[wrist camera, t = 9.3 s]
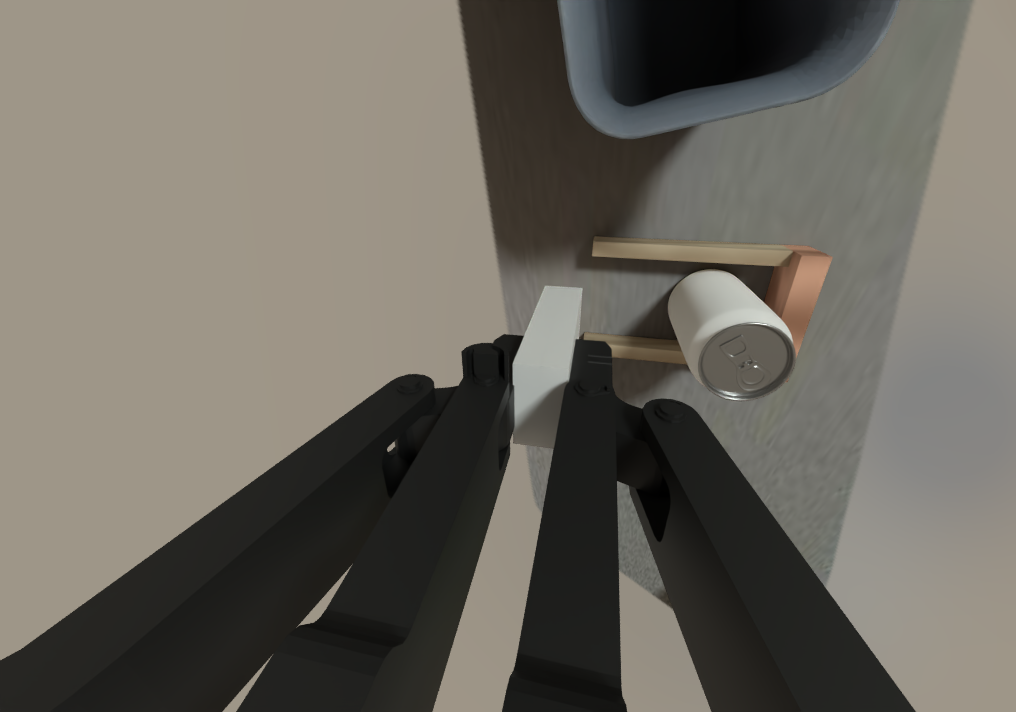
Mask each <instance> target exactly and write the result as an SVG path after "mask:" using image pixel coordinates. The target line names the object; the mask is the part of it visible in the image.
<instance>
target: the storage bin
mask: <svg viewBox="0 0 1016 712" xmlns="http://www.w3.org/2000/svg"><path fill="white" fill-rule="evenodd" d="M899 2H900V0H557V3H558V11H559V18H560V25H561V32H562V40H563V47H564V54H565V62H566V69H567V76H568V83H569V87H570V91H571V95H572V97H573V99H574V102H575V104H576V106H577V108H578V110H579V111H580V113H581V114H582V116H583V117H584V119H585V120H586V121H587V122H588V123H589V124H590V125H591V126H592V127H593V128H595V129H596V130H597V131H599V132H601V133H603V134H605V135H607V136H611V137H614V138H618V139H637V138H643V137H648V136H652V135H656V134H661V133H665V132H669V131H674V130H678V129H683V128H687V127H691V126H696V125H700V124H705V123H709V122H714V121H718V120H723V119H727V118H732V117H736V116H740V115H745V114H749V113H753V112H757V111H761V110H765V109H770V108H774V107H780V106H784V105H787V104H793V103H798V102H801V101H805V100H808V99H811V98H814V97H817V96H819V95H822V94H824V93H826V92H828V91H830V90H832V89H833V88H835V87H837V86H838V85H840V84H841V83H843V82H845V81H846V80H847V79H848V78H850V77H851V76H852V75H853V74H854V73H856V72H857V71H858V70H859V69H860V68H861V67H862V66H863V65H864V64H865V63H866V61H867V60H868V59H869V58H870V57H871V56H872V55H873V53H874V52H875V51H876V49H877V48H878V47H879V45H880V44H881V42H882V40H883V39H884V37H885V36H886V34H887V32H888V29H889V27H890V25H891V23H892V21H893V19H894V17H895V14H896V11H897V8H898V5H899Z"/></svg>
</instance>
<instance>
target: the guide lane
mask: <svg viewBox="0 0 1016 712" xmlns="http://www.w3.org/2000/svg"><path fill="white" fill-rule="evenodd" d="M592 256H598V257H616V258H635V259H653V260H671V261H690V262H708V263H727V264H745V265H763V266H775V267H774V270H773V273H772V277H771V280H770V283H769V287H768V290H767V293H766V297H765V300H764V303H765V304H766V305H767V306H768V307H769V308H770V309H771V310H772V311H773V312H774V313H775V314H776V315H777V316H778V317H779V318H780V319H781V320H782V321H783V322H784V323H785V324H786V326H787V327H788V329H789V331H790V333H791V335H792V339H793V345H794V348H795V352H796V357H797V354H798V351H799V349H800V346H801V343H802V340H803V338H804V335H805V332H806V329H807V327H808V324H809V321H810V318H811V315H812V313H813V310H814V307H815V304H816V302H817V299H818V296H819V293H820V291H821V288H822V285H823V282H824V280H825V277H826V274H827V271H828V268H829V266H830V263H831V260H832V257H831V256H829V255H827V254H825V253H823V252H820V251H818V250H816V249H814V248H812V247H809V246H797V245H775V244H753V243H731V242H709V241H687V240H665V239H643V238H621V237H599V236H594V241H593V251H592ZM584 340H594V341H605V342H606V343H607V344H608V345H609V346H610V347H611V349H612V357H616V358H626V359H637V360H647V361H657V362H667V363H677V364H687V362H686V360H685V357H684V355H683V352H682V350H681V347H680V345H679V342H678V340H667V339H655V338H644V337H633V336H621V335H610V334H599V333H587V332H585V333H584ZM788 379H789V378H788ZM788 379H787V381H786V382H788Z"/></svg>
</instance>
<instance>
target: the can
mask: <svg viewBox="0 0 1016 712" xmlns="http://www.w3.org/2000/svg"><path fill="white" fill-rule="evenodd" d="M668 315H669V318H670V321H671V324H672V327H673V329H674V332H675V334H676V337H677V339H678V342H679V345H680V347H681V350H682V352H683V355H684V357H685V360H686V362H687V364H688V367H689V369H690V371H691V373H692V374H693V376H694V377H695V378H696V379H697V380H698V381H699V382H700V383H701V384H702V385H703V386H705V387H706V388H707V389H708V390H709V391H711V392H712V393H714V394H715V395H717V396H719V397H721V398H724V399H728V400H733V401H748V400H754V399H758V398H761V397H764V396H766V395H769V394H770V393H772V392H774V391H776V390H777V389H778V388H780V387H781V386H782V385H783V384H784V383H785V382H786V381H787V379H788V378H789V377H790V375H791V373H792V371H793V369H794V366H795V362H796V352H795V348H794V345H793V339H792V335H791V333H790V331H789V329H788V327H787V326H786V324H785V323H784V322H783V321H782V320H781V319H780V318H779V317H778V316H777V315H776V314H775V313H774V312H773V311H772V310H771V309H770V308H769V307H768V306H767V305H766V304H765V303H764V302H763V301H762V300H761V299H760V298H759V297H758V296H756V295H755V294H754V293H753V292H752V291H751V290H750V289H749V288H748V287H747V286H746V285H745V284H744V283H742V282H741V281H740V280H739V279H738V278H737V277H735V276H734V275H732V274H731V273H729V272H726V271H723V270H718V269H706V270H701V271H697V272H695V273H692V274H690V275H689V276H687V277H685V278H684V279H683V280H681V281H680V282H679V283H678V284H677V285H676V287H675V288H674V290H673V291H672V293H671V295H670V298H669V301H668Z"/></svg>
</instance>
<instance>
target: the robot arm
mask: <svg viewBox="0 0 1016 712" xmlns="http://www.w3.org/2000/svg"><path fill="white" fill-rule="evenodd" d="M582 289H583V288H575V287H557V286H545V288H544V290H543V292H542V295H541V297H540V300H539V302H538V304H537V307H536V309H535V311H534V314H533V316H532V319H531V321H530V323H529V326H528V328H527V331H526V333H525V335H524V336H519V335H506V334H504V335H502V336H500V337H499V338H497V339H496V340H495V341H494V342H493V343H480V344H474V345H471V346H469V347H466V348H465V349H464V350H463V351H462V365H463V379H462V381H461V382H460V384H459V386H455V387H448V388H436V389H435V388H434V382H433V380H432V379H431V378H429V377H427V376H425V375H419V374H412V375H411V374H408V375H405V376H401V377H398V378H396V379H394V380H392V381H390V382H389V383H388V384H386V385H385V386H384V387H382V388H381V389H380V390H378V391H377V392H375V393H374V394H373V395H371V396H370V397H368V398H367V399H366V400H365V401H363V402H362V403H360V404H359V405H357V406H356V407H355V408H353V409H352V410H351V411H349V412H348V413H347V414H345V415H344V416H342V417H341V418H339V419H338V420H337V421H335V422H334V423H333V424H331V425H330V426H328V427H327V428H326V429H325V430H323V431H322V432H320V433H319V434H317V435H316V436H315V437H313V438H312V439H311V440H309V441H308V442H306V443H305V444H304V445H302V446H301V447H300V448H298V449H297V450H295V451H294V452H293V453H291V454H290V455H288V456H287V457H286V458H284V459H283V460H282V461H280V462H279V463H277V464H276V465H275V466H273V467H272V468H271V469H269V470H268V471H266V472H265V473H264V474H262V475H261V476H259V477H258V478H257V479H255V480H254V481H253V482H251V483H250V484H248V485H247V486H246V487H244V488H243V489H242V490H240V491H239V492H237V493H236V494H235V495H233V496H232V497H230V498H229V499H228V500H226V501H225V502H224V503H222V504H221V505H219V506H218V507H217V508H216V509H214V510H213V511H211V512H210V513H209V514H207V515H206V516H204V517H203V518H202V519H200V520H199V521H197V522H196V523H195V524H193V525H192V526H191V527H189V528H188V529H186V530H185V531H184V532H182V533H181V534H179V535H178V536H177V537H175V538H174V539H173V540H171V541H170V542H168V543H167V544H166V545H165V546H163V547H162V548H160V549H159V550H157V551H156V552H155V553H153V554H152V555H150V556H149V557H148V558H147V559H145V560H144V561H142V562H141V563H140V564H138V565H137V566H135V567H134V568H133V569H131V570H130V571H129V572H127V573H126V574H124V575H123V576H122V577H120V578H119V579H117V580H116V581H115V582H113V583H112V584H110V585H109V586H108V587H106V588H105V589H104V590H102V591H101V592H100V593H98V594H97V595H95V596H94V597H93V598H91V599H90V600H88V601H87V602H86V603H84V604H83V605H82V606H80V607H79V608H77V609H76V610H75V611H73V612H72V613H70V614H69V615H68V616H66V617H65V618H64V619H62V620H61V621H59V622H58V623H57V624H55V625H54V626H53V627H51V628H50V629H48V630H47V631H46V632H45V633H43V634H42V635H40V636H39V637H37V638H36V639H35V640H33V641H32V642H30V643H29V644H28V645H26V646H25V647H24V648H22V649H21V650H19V651H17V652H15V653H13V654H12V655H10V656H8V657H6V658H4V659H2V660H0V712H222V711H223V710H224V709H225V708H226V707H227V706H228V704H229V703H230V702H231V701H232V700H233V699H234V697H236V695H237V694H238V693H239V692H240V691H241V690H242V689H243V687H244V686H245V685H246V684H247V683H248V682H249V680H251V678H252V677H253V676H254V675H255V674H256V673H257V671H258V670H259V669H260V668H261V667H262V666H263V665H264V664H265V663H266V661H267V660H268V659H269V658H270V657H271V656H272V657H271V659H270V660H269V662H268V663H267V665H266V666H265V668H264V669H263V671H262V673H261V674H260V676H259V677H258V679H257V680H256V682H255V684H254V685H253V687H252V688H251V690H250V691H249V693H248V695H247V696H246V697H245V699H244V701H243V702H242V704H241V705H240V707H239V708H238V710H237V711H236V712H432V711H433V708H434V704H435V701H436V698H437V694H438V691H439V688H440V685H441V681H442V678H443V675H444V671H445V668H446V665H447V661H448V658H449V655H450V651H451V648H452V645H453V642H454V638H455V635H456V631H457V628H458V625H459V622H460V618H461V615H462V612H463V609H464V605H465V602H466V599H467V595H468V592H469V589H470V585H471V582H472V579H473V576H474V572H475V569H476V566H477V562H478V559H479V555H480V552H481V549H482V546H483V543H484V539H485V536H486V533H487V529H488V526H489V523H490V519H491V516H492V513H493V509H494V506H495V503H496V499H497V496H498V493H499V490H500V486H501V483H502V480H503V476H504V473H505V470H506V467H507V463H508V460H509V456H510V439H511V436H512V433H513V443H515V444H522V445H530V446H537V447H545V448H552V449H554V450H553V456H552V462H551V467H550V473H549V478H548V484H547V490H546V495H545V501H544V507H543V512H542V518H541V524H540V530H539V535H538V540H537V546H536V552H535V557H534V563H533V568H532V574H531V580H530V586H529V591H528V597H527V603H526V608H525V614H524V619H523V625H522V630H521V636H520V642H519V648H518V653H517V658H516V663H515V667H514V671H513V672H512V674H511V676H510V678H509V683H508V686H507V690H506V695H505V700H504V705H503V709H502V712H627V708H626V704H625V701H624V699H623V697H622V689H621V658H620V657H621V656H620V613H619V611H620V608H619V560H618V513H617V481H619V482H621V483H624V484H626V485H629V490H630V495H631V498H632V500H633V503H634V506H635V508H636V511H637V514H638V516H639V519H640V522H641V524H642V527H643V530H644V532H645V535H646V538H647V541H648V543H649V546H650V549H651V551H652V554H653V557H654V559H655V562H656V565H657V567H658V570H659V573H660V575H661V578H662V581H663V583H664V586H665V589H666V591H667V594H668V597H669V599H670V602H671V605H672V607H673V610H674V613H675V615H676V618H677V621H678V623H679V626H680V629H681V631H682V634H683V636H684V639H685V642H686V645H687V647H688V650H689V653H690V655H691V658H692V661H693V663H694V666H695V669H696V671H697V674H698V677H699V680H700V682H701V685H702V688H703V690H704V693H705V696H706V698H707V700H708V704H709V706H710V709H711V711H712V712H915V710H914V709H913V707H912V706H911V705H910V703H909V702H908V701H907V699H906V698H905V696H904V695H903V694H902V692H901V691H900V690H899V688H898V687H897V686H896V684H895V683H894V681H893V680H892V678H891V677H890V676H889V674H888V673H887V672H886V670H885V669H884V668H883V666H882V665H881V663H880V662H879V661H878V659H877V658H876V657H875V655H874V654H873V652H872V651H871V650H870V648H869V647H868V646H867V644H866V643H865V641H864V640H863V639H862V637H861V636H860V635H859V633H858V632H857V631H856V629H855V628H854V626H853V625H852V624H851V622H850V621H849V619H848V618H847V617H846V615H845V614H844V613H843V611H842V610H841V609H840V607H839V606H838V604H837V603H836V602H835V600H834V599H833V598H832V596H831V595H830V594H829V592H828V591H827V589H826V588H825V587H824V585H823V584H822V582H821V581H820V580H819V578H818V577H817V576H816V574H815V573H814V572H813V570H812V569H811V567H810V566H809V565H808V563H807V562H806V561H805V559H804V558H803V556H802V555H801V554H800V552H799V551H798V550H797V548H796V547H795V545H794V544H793V543H792V541H791V540H790V539H789V537H788V536H787V534H786V533H785V532H784V530H783V529H782V528H781V526H780V525H779V524H778V522H777V521H776V519H775V518H774V517H773V515H772V514H771V513H770V511H769V510H768V508H767V507H766V506H765V504H764V503H763V502H762V500H761V499H760V497H759V496H758V495H757V493H756V492H755V491H754V489H753V488H752V486H751V485H750V484H749V482H748V481H747V480H746V478H745V477H744V476H743V474H742V473H741V471H740V470H739V469H738V467H737V466H736V465H735V463H734V462H733V460H732V459H731V458H730V456H729V455H728V454H727V452H726V451H725V449H724V448H723V447H722V445H721V444H720V443H719V441H718V440H717V439H716V437H715V436H714V434H713V433H712V432H711V430H710V429H709V428H708V426H707V425H706V423H705V422H704V421H703V419H702V418H701V417H700V415H699V414H698V413H697V412H696V411H695V410H694V409H693V408H692V407H690V406H688V405H686V404H685V403H683V402H680V401H676V400H672V399H655V400H651V401H649V402H647V403H646V404H645V405H644V407H643V409H641V408H638V407H635V406H632V405H630V404H627V403H625V402H623V401H622V400H620V399H619V398H618V397H617V396H616V395H615V392H614V389H613V387H612V349H611V347H610V346H609V345H608V344H607V343H606V342H605V341H594V340H582V339H579V328H580V315H581V302H582ZM393 442H395V447H394V448H393V449H392V450H391V451H389V452H388V451H387V448H388V447H389V445H391V444H392V443H393ZM352 564H353V565H352ZM351 565H352V566H351ZM350 566H351V568H350V570H349V572H348V573H347V575H346V576H345V578H344V580H343V582H342V583H341V585H340V587H339V588H338V590H337V592H336V593H335V595H334V597H333V598H332V600H331V602H330V604H329V605H328V607H327V609H326V610H325V611H324V613H323V614H322V616H321V617H320V618H319V619H318V620H317V621H315V622H314V623H310V624H305V625H300V626H298V625H299V624H300V623H301V622H302V621H303V619H304V618H305V617H306V616H307V615H308V614H309V612H310V611H311V610H312V609H313V608H314V607H315V606H316V605H317V604H318V603H319V601H320V600H321V599H322V598H323V597H324V596H325V595H326V593H327V592H328V591H329V590H330V589H331V588H332V587H333V585H334V584H335V583H336V582H337V581H338V580H339V579H340V578H341V576H342V575H343V574H344V573H345V572H346V571H347V570H348V569H349V567H350ZM297 626H298V627H297ZM296 627H297V628H296ZM273 653H274V654H273Z"/></svg>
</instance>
